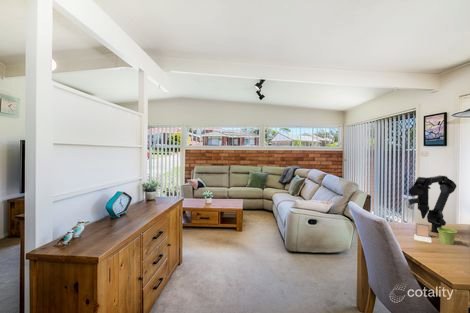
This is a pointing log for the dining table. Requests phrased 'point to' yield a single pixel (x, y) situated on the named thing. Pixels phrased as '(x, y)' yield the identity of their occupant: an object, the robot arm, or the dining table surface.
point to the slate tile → (422, 230)
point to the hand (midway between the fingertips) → (422, 217)
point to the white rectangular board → (422, 238)
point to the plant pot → (446, 235)
